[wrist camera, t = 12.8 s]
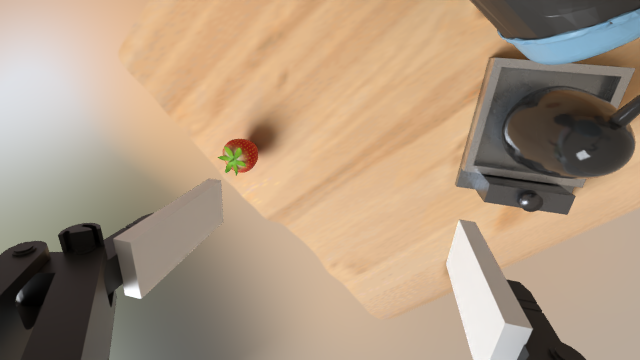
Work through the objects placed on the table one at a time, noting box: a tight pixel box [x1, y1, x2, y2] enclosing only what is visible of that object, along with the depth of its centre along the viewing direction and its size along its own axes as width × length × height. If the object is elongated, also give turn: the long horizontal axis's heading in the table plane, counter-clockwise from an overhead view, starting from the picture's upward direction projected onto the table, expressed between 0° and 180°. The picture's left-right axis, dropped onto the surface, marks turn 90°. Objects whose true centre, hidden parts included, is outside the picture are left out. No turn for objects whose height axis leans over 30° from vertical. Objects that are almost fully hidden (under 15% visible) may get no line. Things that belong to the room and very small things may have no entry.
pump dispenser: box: [501, 86, 640, 179], centre depth 33 cm, size 10×10×15 cm
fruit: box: [218, 139, 258, 176], centre depth 48 cm, size 5×5×8 cm
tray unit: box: [455, 58, 635, 215], centre depth 38 cm, size 18×15×7 cm
